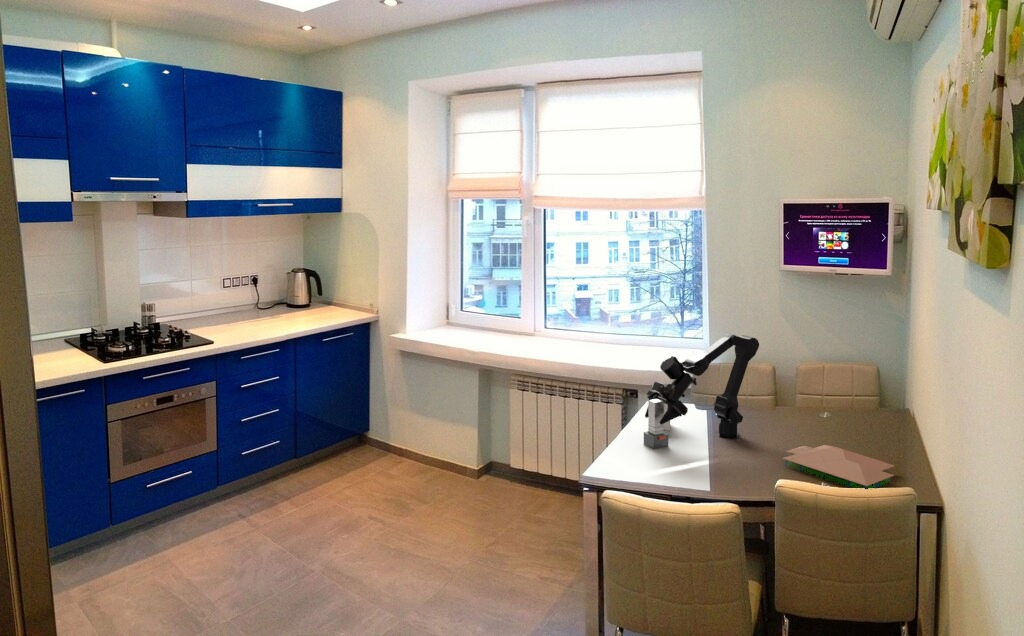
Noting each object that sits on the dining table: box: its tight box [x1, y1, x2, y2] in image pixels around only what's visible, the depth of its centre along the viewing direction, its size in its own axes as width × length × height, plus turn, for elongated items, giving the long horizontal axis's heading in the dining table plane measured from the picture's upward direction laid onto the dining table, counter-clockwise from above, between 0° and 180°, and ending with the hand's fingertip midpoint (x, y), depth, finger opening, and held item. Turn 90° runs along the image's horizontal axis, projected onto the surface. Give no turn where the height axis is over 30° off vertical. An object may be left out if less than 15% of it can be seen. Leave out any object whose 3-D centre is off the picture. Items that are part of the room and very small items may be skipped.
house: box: [782, 444, 896, 489], centre depth 243 cm, size 23×33×8 cm
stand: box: [643, 430, 670, 450], centre depth 269 cm, size 10×10×6 cm
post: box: [647, 399, 665, 436], centre depth 267 cm, size 4×4×13 cm
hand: (652, 420), depth 267 cm, fingers open, 9 cm apart
